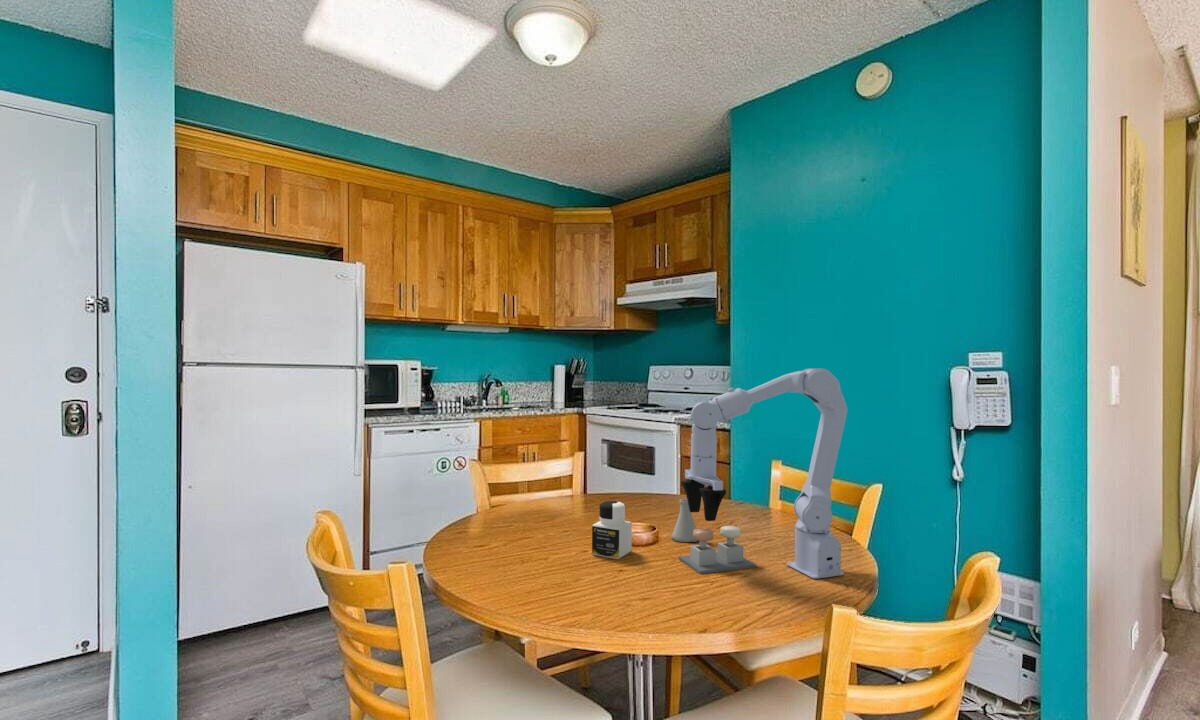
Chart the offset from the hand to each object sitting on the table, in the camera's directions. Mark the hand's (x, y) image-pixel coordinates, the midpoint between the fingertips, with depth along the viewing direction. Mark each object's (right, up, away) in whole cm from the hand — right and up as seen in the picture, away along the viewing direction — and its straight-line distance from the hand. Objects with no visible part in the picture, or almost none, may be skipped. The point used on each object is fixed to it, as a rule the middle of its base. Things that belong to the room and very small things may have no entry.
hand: (702, 516), depth 133 cm
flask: (-1, -11, +19) cm, 22 cm away
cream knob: (+7, -8, +2) cm, 10 cm away
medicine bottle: (-20, -11, +7) cm, 24 cm away
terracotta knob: (0, -8, -1) cm, 8 cm away
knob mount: (+3, -11, +1) cm, 11 cm away
